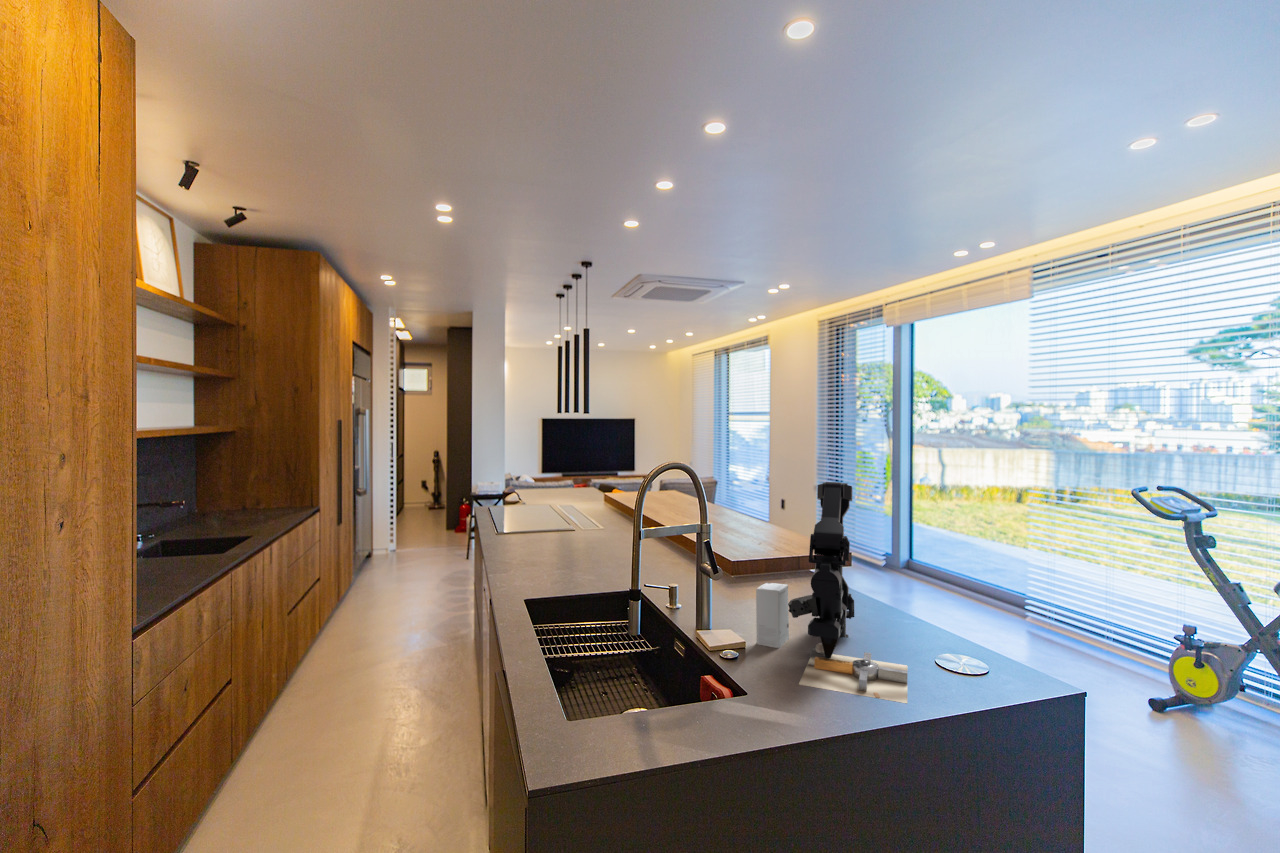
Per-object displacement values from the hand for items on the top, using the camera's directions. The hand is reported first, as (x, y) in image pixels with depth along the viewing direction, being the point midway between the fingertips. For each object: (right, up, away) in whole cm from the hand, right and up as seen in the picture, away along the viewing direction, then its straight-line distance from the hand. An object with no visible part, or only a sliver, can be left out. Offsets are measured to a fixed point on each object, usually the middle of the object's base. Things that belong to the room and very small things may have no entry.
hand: (828, 657), depth 132 cm
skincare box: (-9, -3, +14) cm, 17 cm away
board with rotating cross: (+4, -3, -7) cm, 8 cm away
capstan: (+4, -1, -7) cm, 8 cm away
